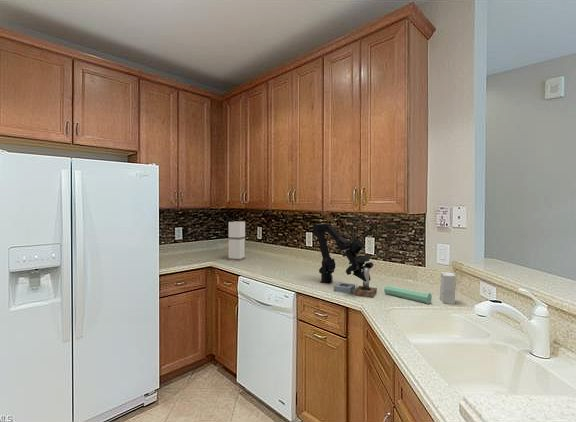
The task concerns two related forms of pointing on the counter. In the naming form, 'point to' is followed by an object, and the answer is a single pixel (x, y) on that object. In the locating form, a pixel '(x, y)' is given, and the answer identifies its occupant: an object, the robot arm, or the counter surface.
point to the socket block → (344, 287)
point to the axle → (366, 275)
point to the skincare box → (447, 287)
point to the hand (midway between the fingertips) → (367, 280)
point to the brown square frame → (365, 292)
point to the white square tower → (236, 241)
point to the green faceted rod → (408, 294)
